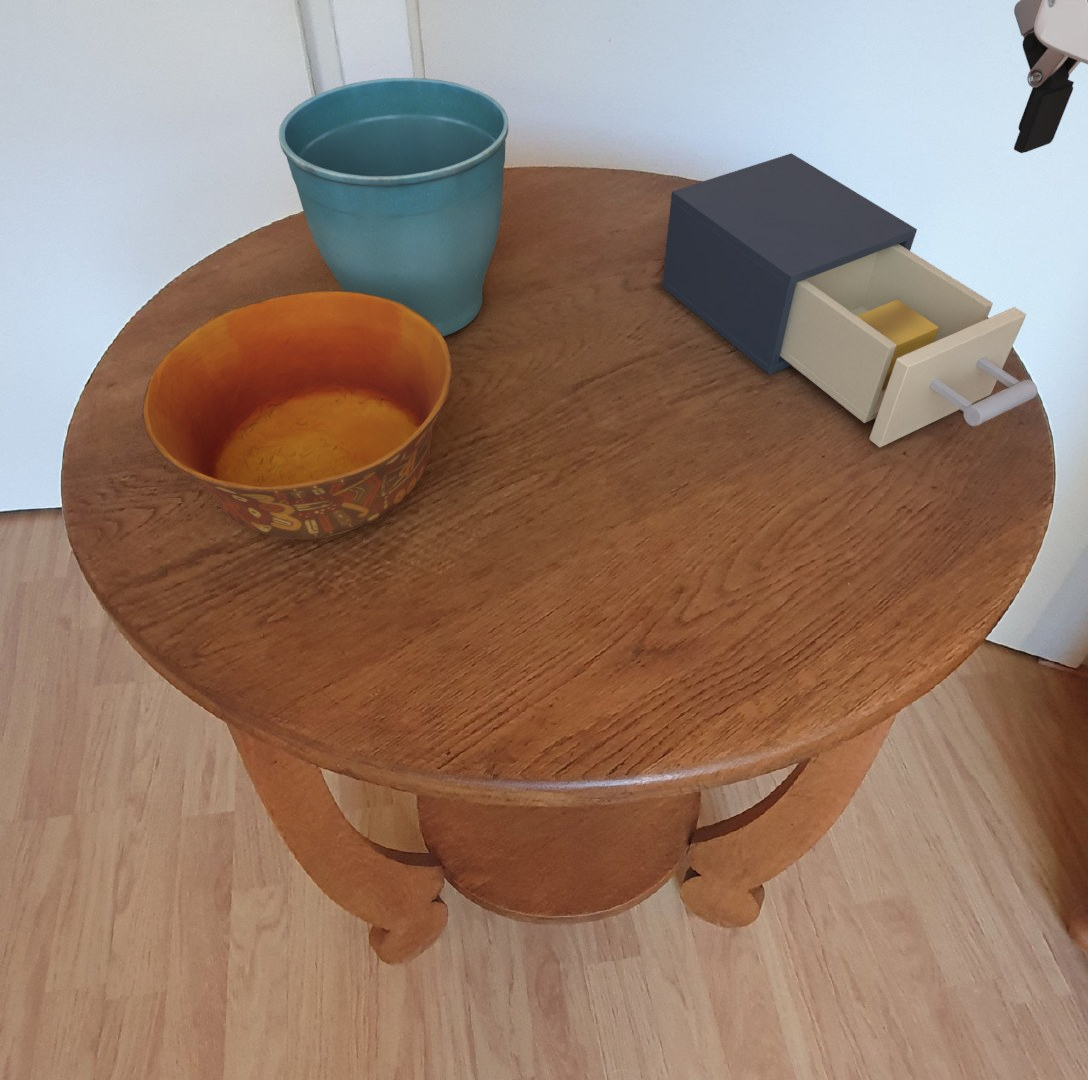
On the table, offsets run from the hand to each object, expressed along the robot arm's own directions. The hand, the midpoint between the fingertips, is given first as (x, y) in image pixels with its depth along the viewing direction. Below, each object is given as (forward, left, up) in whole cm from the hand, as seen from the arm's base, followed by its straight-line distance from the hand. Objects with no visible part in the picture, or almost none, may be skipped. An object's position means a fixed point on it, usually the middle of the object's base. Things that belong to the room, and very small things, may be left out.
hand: (1076, 165), depth 61 cm
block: (+6, +4, -19) cm, 20 cm away
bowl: (+20, +48, -21) cm, 56 cm away
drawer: (+5, +4, -20) cm, 21 cm away
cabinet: (+20, +4, -21) cm, 29 cm away
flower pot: (+37, +32, -21) cm, 53 cm away
